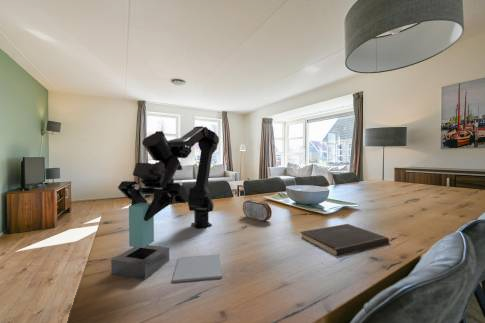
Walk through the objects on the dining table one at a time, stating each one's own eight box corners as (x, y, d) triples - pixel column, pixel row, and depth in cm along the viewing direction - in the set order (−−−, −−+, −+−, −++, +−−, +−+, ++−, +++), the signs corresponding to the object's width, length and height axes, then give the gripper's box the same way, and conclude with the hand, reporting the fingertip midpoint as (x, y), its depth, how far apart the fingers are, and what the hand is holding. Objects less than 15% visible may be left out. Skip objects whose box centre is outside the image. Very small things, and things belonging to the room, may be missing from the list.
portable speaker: (272, 222, 91) (272, 202, 91) (267, 223, 89) (267, 203, 89) (246, 215, 102) (246, 198, 102) (241, 216, 99) (241, 199, 99)
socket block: (139, 256, 60) (139, 243, 60) (169, 260, 57) (169, 247, 57) (111, 274, 51) (111, 259, 51) (145, 279, 48) (144, 264, 48)
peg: (140, 240, 56) (140, 202, 56) (153, 241, 55) (153, 203, 55) (129, 246, 52) (128, 205, 52) (143, 248, 51) (142, 206, 51)
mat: (178, 258, 58) (178, 257, 58) (219, 255, 60) (219, 254, 60) (172, 282, 47) (172, 280, 47) (221, 277, 49) (221, 275, 49)
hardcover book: (300, 238, 75) (300, 231, 75) (347, 229, 84) (347, 223, 84) (337, 258, 60) (337, 250, 60) (389, 244, 69) (389, 237, 69)
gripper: (122, 152, 59) (85, 199, 49) (182, 152, 55) (155, 203, 44) (143, 177, 67) (114, 222, 57) (196, 179, 63) (176, 228, 52)
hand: (137, 219), depth 52 cm, fingers closed on peg, 4 cm apart
